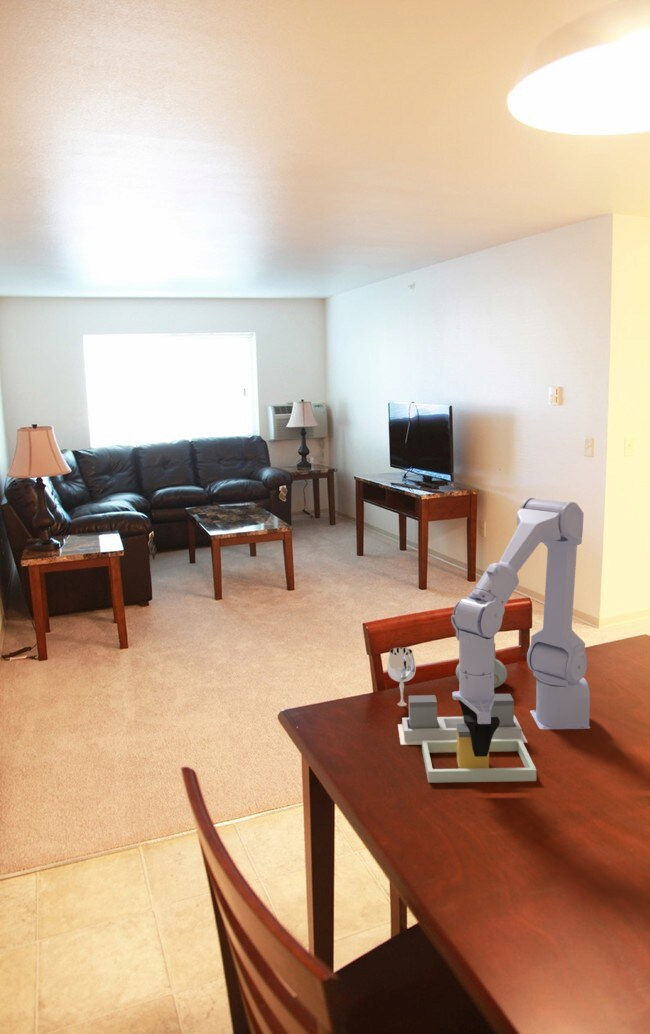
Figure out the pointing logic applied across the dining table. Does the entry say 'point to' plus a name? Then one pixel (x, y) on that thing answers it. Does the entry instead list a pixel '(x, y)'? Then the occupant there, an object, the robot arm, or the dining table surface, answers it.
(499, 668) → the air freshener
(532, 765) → the tray
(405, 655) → the wineglass
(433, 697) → the block
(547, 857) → the dining table surface
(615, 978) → the dining table surface
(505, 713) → the block
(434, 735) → the fuse holder
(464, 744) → the block
